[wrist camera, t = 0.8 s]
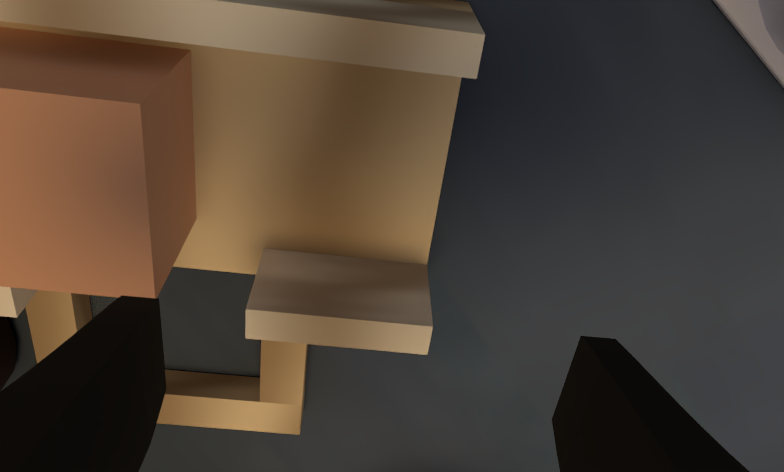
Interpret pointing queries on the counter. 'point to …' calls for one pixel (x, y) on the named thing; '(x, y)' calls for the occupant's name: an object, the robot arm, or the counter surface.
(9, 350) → the vinegar
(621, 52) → the counter surface
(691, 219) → the counter surface
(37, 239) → the block
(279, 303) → the wooden tray
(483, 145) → the counter surface
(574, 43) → the counter surface
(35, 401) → the robot arm
